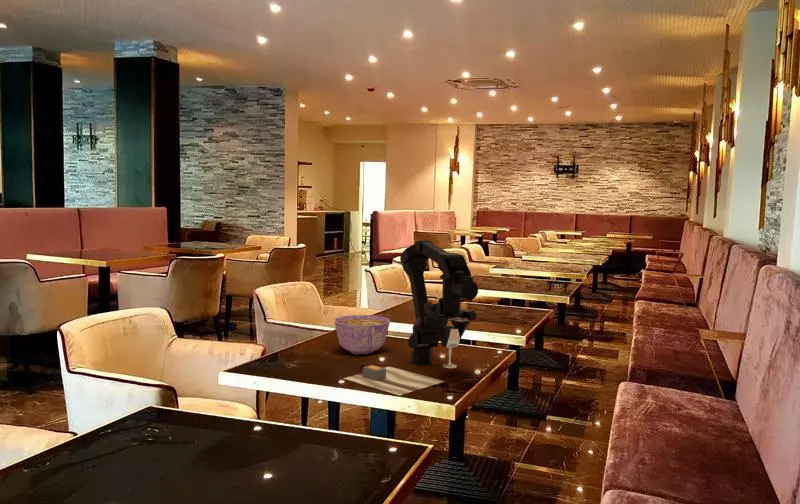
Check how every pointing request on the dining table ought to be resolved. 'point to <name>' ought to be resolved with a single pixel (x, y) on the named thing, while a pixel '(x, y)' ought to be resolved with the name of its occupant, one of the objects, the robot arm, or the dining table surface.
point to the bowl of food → (361, 332)
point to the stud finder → (374, 372)
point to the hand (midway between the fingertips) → (450, 345)
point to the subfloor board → (397, 381)
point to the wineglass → (452, 344)
